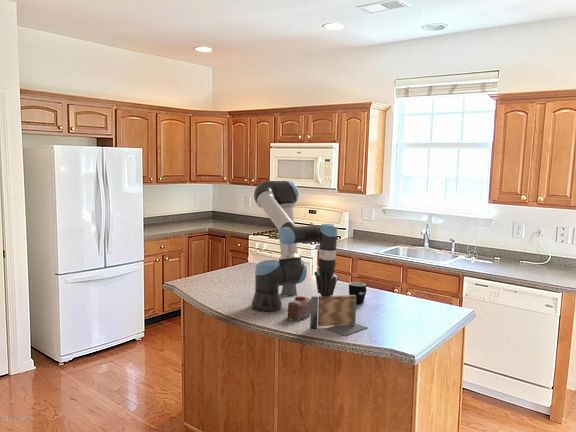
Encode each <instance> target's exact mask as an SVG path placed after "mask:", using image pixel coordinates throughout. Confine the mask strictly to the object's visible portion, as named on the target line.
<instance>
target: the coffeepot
mask: <svg viewBox="0 0 576 432" xmlns="http://www.w3.org/2000/svg"><path fill="white" fill-rule="evenodd" d="M281 288H282V289H281V295H282V296H284V295H285V297H294V296H295V295H296V296H298V292H297V284H292V285H283V286H281ZM296 296H295V297H296Z"/></svg>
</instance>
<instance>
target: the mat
mask: <svg viewBox="0 0 576 432" xmlns="http://www.w3.org/2000/svg"><path fill="white" fill-rule="evenodd" d="M368 328H369V327H368V326H366V325H362V324H360V323H356V322H355V324H354V325H352V324H349V325H333V326H330V327H327V328H326V329H325V330H327V331H329V332H332V333H336V334H338V335H341V336H343V337H348V336H350V335H354V334H357V333H358V332H361V331H364V330H367V329H368Z"/></svg>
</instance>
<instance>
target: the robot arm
mask: <svg viewBox="0 0 576 432" xmlns="http://www.w3.org/2000/svg"><path fill="white" fill-rule="evenodd" d="M253 199H254V201H255V203H256V204H257V206H258V207H259V208H261V209H262V210H264V212H265V214H267V216H268V217H269V219H270V220H271V221H272V223H273V225H275V227H276V229H277V230H278V234H277V235H278V236H277V237H278V240H279V249H280V257H279V258H278V260H277V259H266V260H261V261H260V262H257V264H256V265H255V272H254V274H255V280H254V281H255V283H254V285H255V287H254V295H253V299H252V301H251V306H250V307H251V309H252V308H253V309H252V310H254V309H255V310H254V311H257V310H259V311H258V312H262V311H268V312H267V313H269V311H272V312H277V311H279V310H281V309H282V305H283V304H282V300H281V297H280V293H279V287H280V286H281V287H283V285H292V284H296V285H297V284H302V283H303V282H304V281H305V279H306V277H307V275H308V269H307V268H308V266H307V264H306V262H305V261H304V260H302V256H300V255H299V254H298V246H297V245H298V244H307V243H318V244H319V246H318V249H319V251H318V252H319V253H318V257H319V258H318V265H317V266H318V270H317V271H314V273H313V274H314V276H315V281H316V288H317V293H318V294H320V296H334V292H335V289H336V285H337V281H339V276H338V275H336V274H335V268H336V258H337V241H338V226H337V225H336V224H333V223H322V224H320V226H319V225H317V224H309V225H307V226H304V225H303V226H302V225H301V226H298V225H296V224H295V220H294V208H295V206H296V203H297V202H298V200H299V190H298V187H297V185H296V184H295V183H294V182H293V181H291V180H264V181H261V182H260V183H258V185H257V186H256V187H255V189H254V192H253Z"/></svg>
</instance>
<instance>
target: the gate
mask: <svg viewBox="0 0 576 432" xmlns="http://www.w3.org/2000/svg"><path fill="white" fill-rule="evenodd" d="M356 314H357V304H356V295H349V294H344V295H341V294H340V295H332V296H321V295H320V296H318V312H317V327H328V326H330V327H332V326H335V325H349V324H352V325H354V324H355V323H356Z"/></svg>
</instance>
